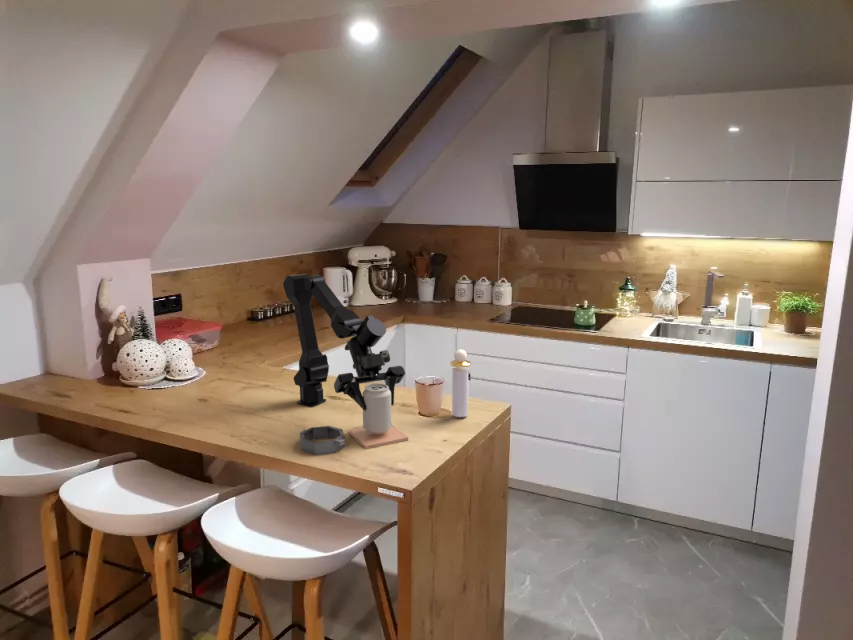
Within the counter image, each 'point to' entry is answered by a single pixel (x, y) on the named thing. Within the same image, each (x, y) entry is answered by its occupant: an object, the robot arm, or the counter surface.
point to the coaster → (377, 437)
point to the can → (377, 408)
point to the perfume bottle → (460, 383)
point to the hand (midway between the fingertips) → (379, 407)
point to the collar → (322, 446)
